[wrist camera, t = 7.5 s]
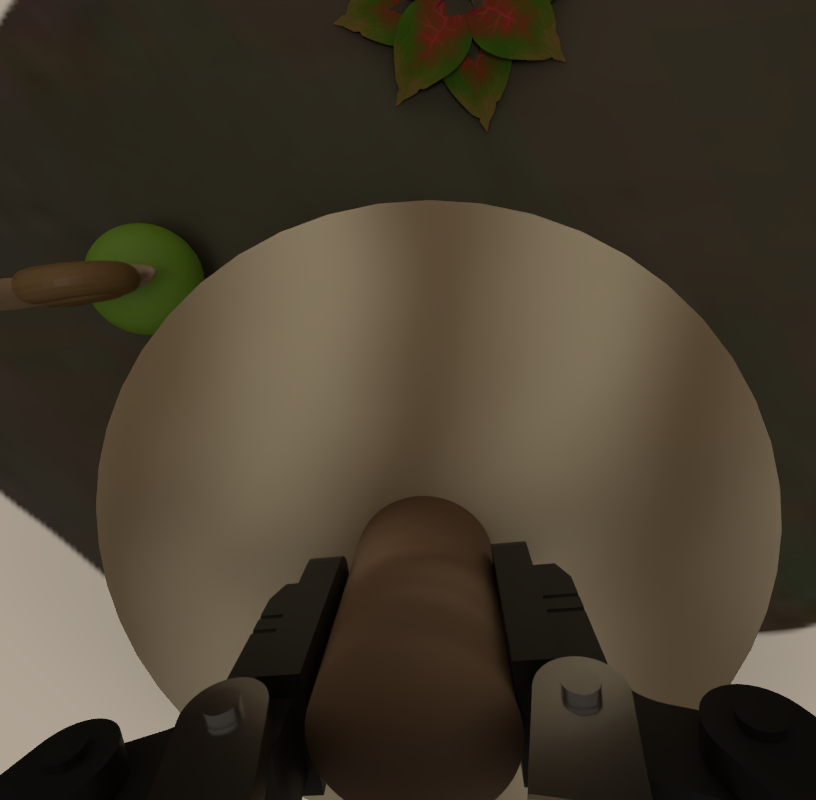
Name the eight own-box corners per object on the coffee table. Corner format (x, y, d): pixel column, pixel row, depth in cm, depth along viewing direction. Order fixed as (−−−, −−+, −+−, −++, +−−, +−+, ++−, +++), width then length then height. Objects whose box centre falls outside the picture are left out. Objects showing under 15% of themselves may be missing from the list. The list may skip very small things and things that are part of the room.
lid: (763, 155, 11) (1118, 25, 5) (750, 778, 15) (953, 1113, 9) (47, 257, 13) (-297, 244, 7) (194, 801, 16) (53, 1101, 10)
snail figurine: (96, 241, 29) (-137, 220, 17) (207, 219, 28) (43, 181, 17) (125, 339, 30) (-75, 381, 19) (232, 320, 30) (95, 350, 18)
